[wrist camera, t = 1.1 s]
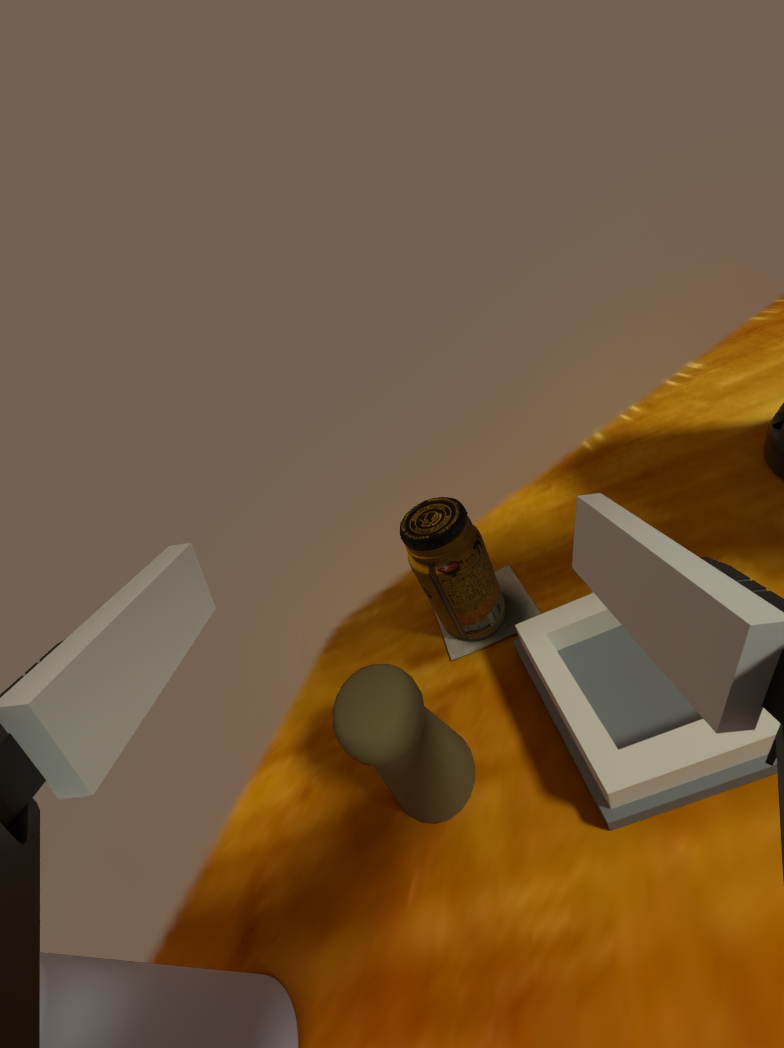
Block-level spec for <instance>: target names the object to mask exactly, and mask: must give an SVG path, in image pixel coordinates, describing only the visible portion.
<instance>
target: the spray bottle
mask: <svg viewBox="0 0 784 1048" xmlns="http://www.w3.org/2000/svg"><path fill="white" fill-rule="evenodd" d="M40 1048H298V1028H297V1020H296V1016H295V1011H294V1008H293V1005H292V1002H291V999H290V997H289V995H288V993H287V991H286V990H285V988H284V987H283V986H282V984H281V983H280V982H279V981H277V980H276V979H274V978H273V977H271V976H268V975H264V974H254V973H244V972H234V971H223V970H213V969H203V968H193V967H183V966H173V965H162V964H152V963H142V962H132V961H121V960H111V959H102V958H91V957H80V956H70V955H61V954H51V953H40Z"/></svg>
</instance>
